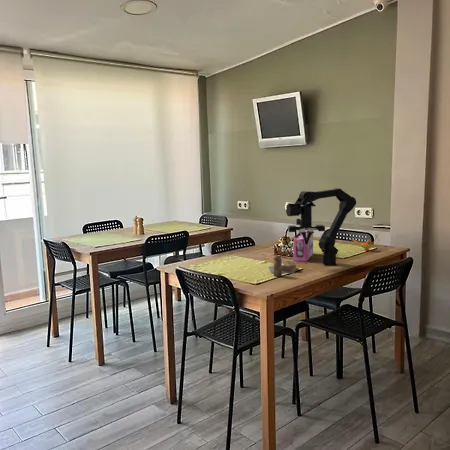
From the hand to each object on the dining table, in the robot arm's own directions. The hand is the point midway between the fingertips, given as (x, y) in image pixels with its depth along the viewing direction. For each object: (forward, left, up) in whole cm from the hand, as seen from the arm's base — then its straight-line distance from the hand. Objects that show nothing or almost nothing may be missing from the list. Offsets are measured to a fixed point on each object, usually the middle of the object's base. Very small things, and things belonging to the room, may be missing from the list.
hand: (306, 244), depth 238 cm
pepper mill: (+17, +18, -12) cm, 28 cm away
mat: (+14, +6, -12) cm, 19 cm away
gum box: (-2, -24, -12) cm, 27 cm away
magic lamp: (-41, -37, -12) cm, 57 cm away
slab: (+7, +6, -10) cm, 14 cm away
